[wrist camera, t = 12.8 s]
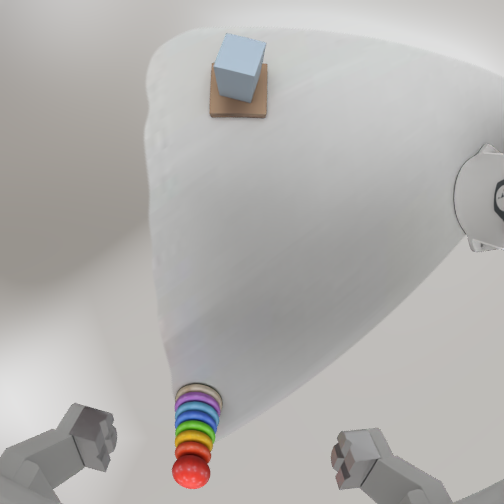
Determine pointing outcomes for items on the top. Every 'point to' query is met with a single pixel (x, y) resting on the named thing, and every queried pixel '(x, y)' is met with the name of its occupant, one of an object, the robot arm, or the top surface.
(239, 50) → the pillar
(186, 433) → the stacking toy
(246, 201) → the top surface
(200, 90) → the top surface
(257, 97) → the base block
